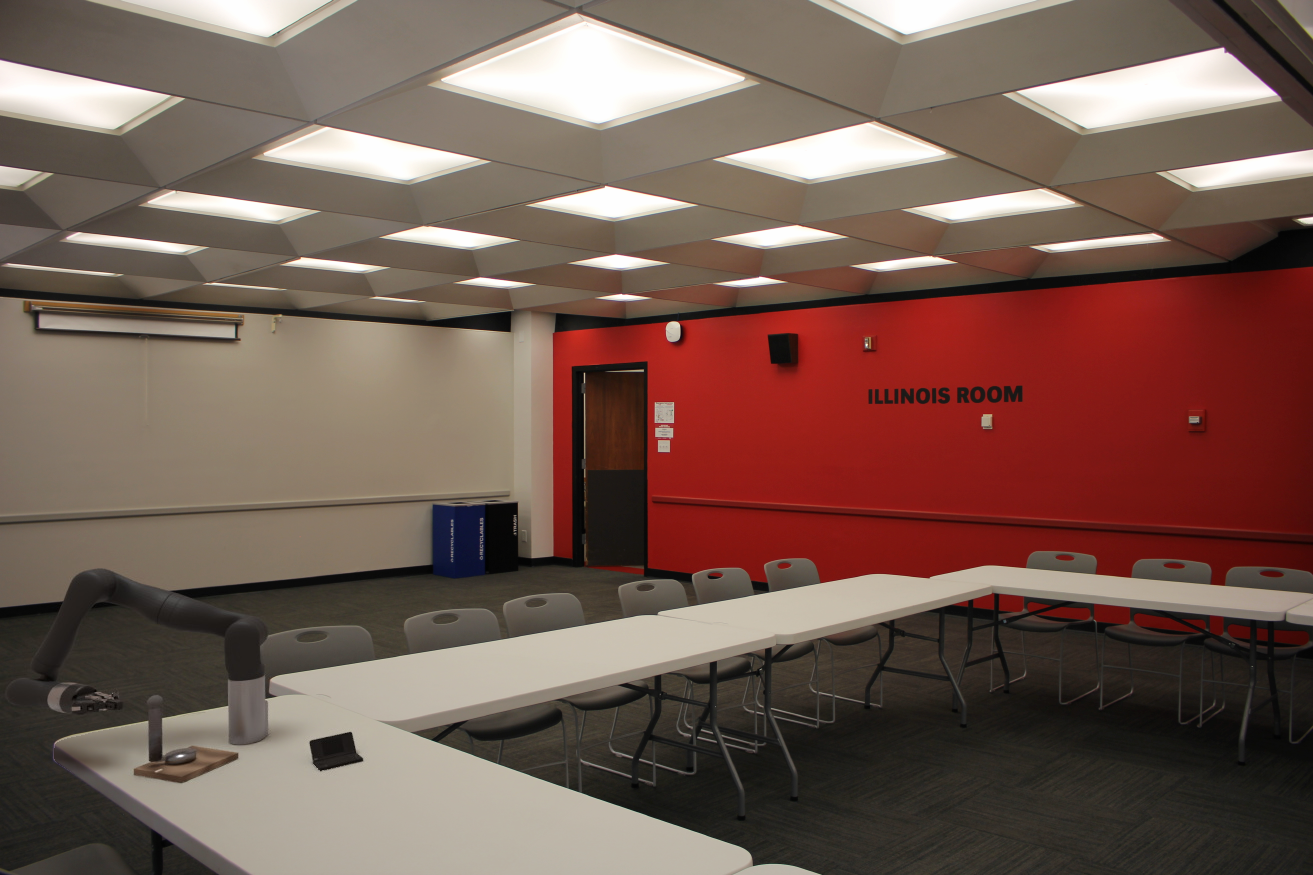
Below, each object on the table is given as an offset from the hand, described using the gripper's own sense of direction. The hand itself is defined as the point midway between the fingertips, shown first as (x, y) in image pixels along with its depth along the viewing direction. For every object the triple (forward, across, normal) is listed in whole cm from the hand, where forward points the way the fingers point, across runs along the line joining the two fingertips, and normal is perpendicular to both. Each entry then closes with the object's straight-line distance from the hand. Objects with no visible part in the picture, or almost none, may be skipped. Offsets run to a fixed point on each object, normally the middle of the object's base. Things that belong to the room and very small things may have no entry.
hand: (120, 705), depth 219 cm
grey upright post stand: (+14, +4, +13) cm, 19 cm away
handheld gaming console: (+50, +22, +15) cm, 56 cm away
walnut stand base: (+16, +6, +15) cm, 23 cm away
